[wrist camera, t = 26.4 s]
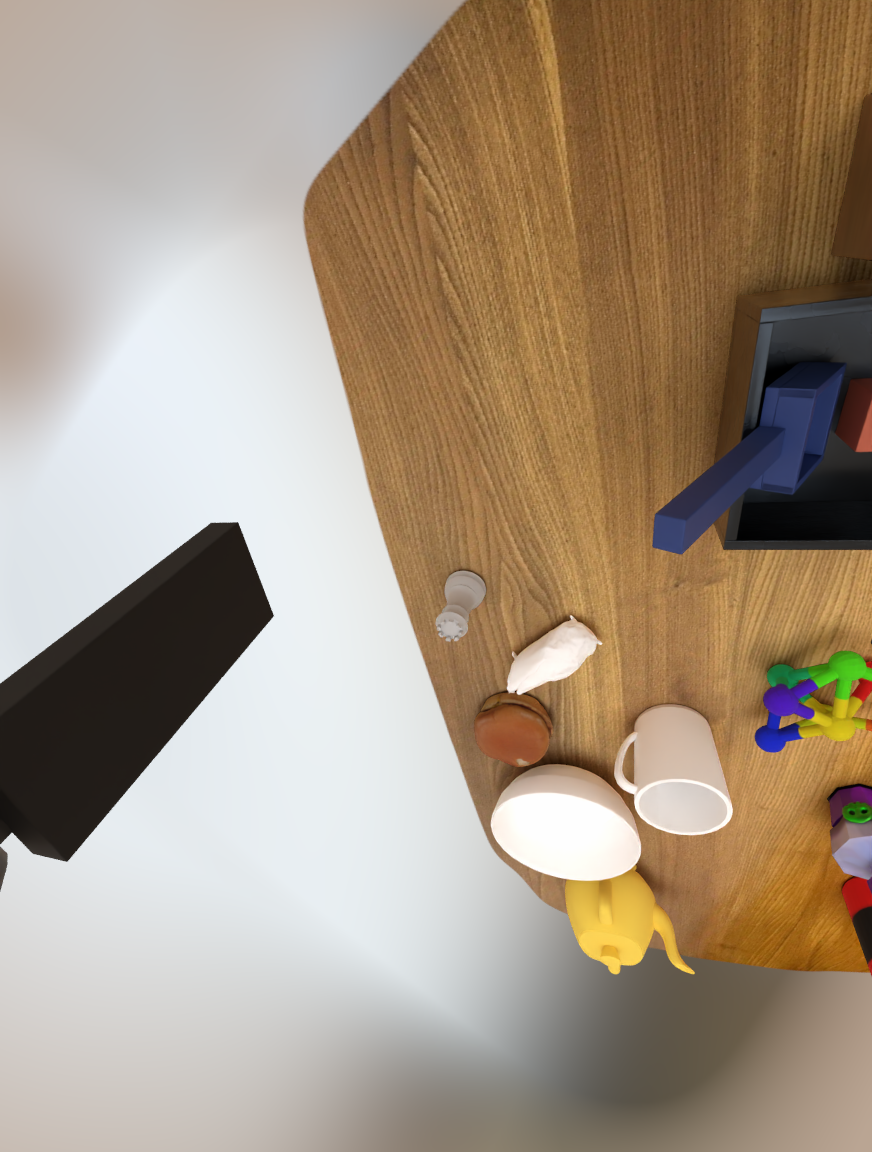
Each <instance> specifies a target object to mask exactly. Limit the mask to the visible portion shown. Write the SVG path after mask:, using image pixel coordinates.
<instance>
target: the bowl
mask: <svg viewBox="0 0 872 1152" xmlns="http://www.w3.org/2000/svg"><path fill="white" fill-rule="evenodd" d="M491 828H492V833H493V835H494V837H495V839H496V841H497V842H498V844H499V845H500V846H501V847H502V848H503V850H505V851H506V852H507V853H508V854H509V855H510V856H511V857H513V858H514V859H516V860H517V861H519V862H520V863H522V864H524V865H526V866H528V867H530V868H532V869H534V870H537V871H539V872H542V873H544V874H547V875H551V876H555V877H559V878H564V879H570V880H581V881H594V880H603V879H609V878H613V877H616V876H619V875H622V874H623V873H625V872H627V871H628V870H630V869H631V868H632V867H633V866H634V865H635V864H636V863H637V861H638V859H639V857H640V855H641V842H640V838H639V834H638V831H637V827H636V823H635V820H634V817H633V815H632V813H631V811H630V810H629V808H628V807H627V806H626V804H625V802H624V801H623V799H622V797H621V796H620V795H619V794H618V793H617V792H616V791H615V790H614V789H613V788H612V787H611V786H610V785H609V784H608V783H607V782H606V781H605V780H603V779H602V778H600V777H599V776H597V775H595V774H593V773H592V772H590V771H587V770H584V769H581V768H578V767H574V766H570V765H561V764H549V765H542V766H538V767H535V768H532V769H530V770H528V771H526V772H525V773H523V774H521V775H520V776H518V777H516V778H515V779H514V780H513V781H512V782H511V784H510V785H509V786H508V787H507V788H506V789H505V790H504V791H503V792H502V794H501V796H500V798H499V800H498V802H497V805H496V807H495V809H494V812H493V814H492V819H491Z"/></svg>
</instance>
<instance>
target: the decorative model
mask: <svg viewBox="0 0 872 1152" xmlns="http://www.w3.org/2000/svg"><path fill="white" fill-rule="evenodd" d="M837 678H838V679H837ZM767 679H768V682H769V684H770V685H771V686H772V688H770V689H769V690H767V691H766V692H765V694H764V697H763V702H764V705H765V707H766V708H767V709H768V711H769V716H768V721H767V725H765V726H762V727H760V728H759V729H758V730H757V731H756V733H755V741H756V743H757V745H758V746H759V747H760V748H761V749H763V750H764V751H766V752H779V751H781V750H782V749H783V748H784V746H785V744H786V742H787V741H792V740H798V739H803V738H809V737H814V736H820V735H825V736H826V737H828V738H830V739H832V740H835V741H845V740H848V739H850V738H851V737H852V736H853V735H854V733H855V730H856V728H858V729H864V730H869V731H872V720H869V719H863V718H857V717H853V716H854V715H855V713H856V712H857V710H858V709H859V708H860V706H861V705H862V704H863V702H864V701H865V699H866V698H867V697H868V695H869V694H870V693H871V691H872V661H869V662H865V661H864V659H863V658H862V657H861V656H860V655H858V654H857V653H855V652H852V651H839V652H837V653H835V654H834V655H832V656H831V657H830V659H829V662H828V663H827V664H821V665H816V666H811V667H806V668H801V669H796V670H794V669H793V668H792V667H790V666H788V665H784V664H778V665H775V666H773V667H772V668H770V669H769V671H768V673H767ZM804 679H807V680H806V681H804V682H802V683H800V684H798V682H799V680H804ZM835 679H837V685H836V691H835V697H834V703H833V707H832V706H830V705H825V704H820V703H819V702H818V701H817V700H816V699H815V698H814V697H812V696H811V695H810V694H809V693H811V692H813V691H815V690H817V689H819V688H820V687H822V686H824V685H826V684H828V683H830V682H832V681H834V680H835ZM853 680H859V682H860V684H859V685H858V687H857V688H856V689H855V691H854V692H853V693H852V695H851V696H850V691H851V685H852V681H853ZM798 700H799V701H800V702H801V703H802V704H800V703H799V701H798ZM793 713H794V714H797V715H799V716H801V717H803V718H806V719H804V720H801V721H799V722H796V723H793V724H791V725H788V726H786V727H783V728H781V729H779V724H780V719H781V716H788V715H791V714H793Z"/></svg>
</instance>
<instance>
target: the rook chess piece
mask: <svg viewBox="0 0 872 1152" xmlns="http://www.w3.org/2000/svg"><path fill="white" fill-rule="evenodd" d="M444 593H445V596H446V599H447V605H446V607H445V608H444V609H443V610H442V614H440V615H439V616H438V617H437V619H436V627H437V630H439V633H438V635H439V636H440V637H441V638H442V637H443V636H445V637H447V638H446V641H451V639H454V640H455V641H457V640H459V638H460V637H462V636H464V635H465V634H466V633H467V630H468V625H467V622H468V620H469V616H468V615H469V613H470V611H471V610H473V609H474V608H476V607H478V606H479V605H480V603H481V602H482V601H483V598H484V597H485V593H486V587H485V584H484V582H483V581H482V579H481V578H480V577H479V576H477V575H476V574H474V573H473V572H468V571H457V572H455V573H453V574H451V575H450V576H449V578H448V579H447V581H446V585H445V591H444Z"/></svg>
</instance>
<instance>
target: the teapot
mask: <svg viewBox="0 0 872 1152" xmlns="http://www.w3.org/2000/svg"><path fill="white" fill-rule="evenodd" d="M636 868H637V866H636V865H634V866H633V867H632V868H631V869H630V870H628V871H627V872H625V873H623V874H622V875H619V876H616V877H613V878H609V879H603V880H594V881H581V880H570V879H567V881H566V885H565V899H566V906H567V912H568V916H569V919H570V922H571V925H572V928H573V930H574V933H575V936H576V938H577V940H578V943H579V945H580V947H581V948H582V950H583V951H584V952H585V953H586V954H587V955H588V956H590V957H591V958H593V959H596V960H599V961H601V962H602V963H604V964H605V965H608V969H609V971H610V972H611V973H613V974H618V973H619V972H620V965H635V964H637V963H639V962H640V961H641V959H642V958H643V956H644V954H645V952H646V949H647V947H648V945H649V942H650V940H651V937H652V935H653V931H654V929H655V930H656V931H657V932H659V933H660V935H661V936H662V938H663V940H664V943H665V947H666V951H667V955H668V957H669V959H670V961H671V962H672V964H673V965H675V966H676V967H677V968H679V969H681V970H682V971H685V972H687V973H691V974H695V973H694V971H693V970H691V969H690V968H689V967H688V966H687V965H686V964H685V963H684V961H683V960H682V958H681V957H680V954H679V952H678V949H677V946H676V940H675V935H674V930H673V926H672V923H671V920H670V918H669V917H668V915H667V913H666V912H665V911H664V910H663V909H662V908H661V907H660V906H659V905H657V904H656V901H655V898H654V895H653V893H652V891H651V889H650V888H649V886H648V885H647V883H646V882H645V880H644V879H643V878H642V877H641V876H640V874H638V873H637V872H636V871H635V870H636Z"/></svg>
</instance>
